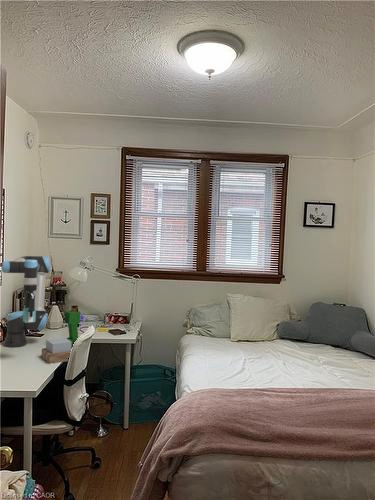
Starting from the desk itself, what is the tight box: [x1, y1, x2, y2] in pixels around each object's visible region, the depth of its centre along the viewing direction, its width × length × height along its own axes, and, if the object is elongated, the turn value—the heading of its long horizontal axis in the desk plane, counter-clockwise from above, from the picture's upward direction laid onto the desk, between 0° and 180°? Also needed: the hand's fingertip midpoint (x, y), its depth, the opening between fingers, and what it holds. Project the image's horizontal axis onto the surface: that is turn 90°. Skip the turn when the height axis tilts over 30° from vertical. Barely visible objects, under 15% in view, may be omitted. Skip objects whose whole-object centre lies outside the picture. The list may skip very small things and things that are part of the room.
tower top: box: [45, 337, 72, 354], centre depth 249 cm, size 12×12×6 cm
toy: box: [64, 304, 81, 349], centre depth 275 cm, size 10×14×30 cm
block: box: [22, 307, 36, 323], centre depth 243 cm, size 6×6×8 cm
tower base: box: [41, 347, 71, 365], centre depth 250 cm, size 16×16×6 cm
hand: (29, 320), depth 243 cm, fingers closed on block, 6 cm apart
